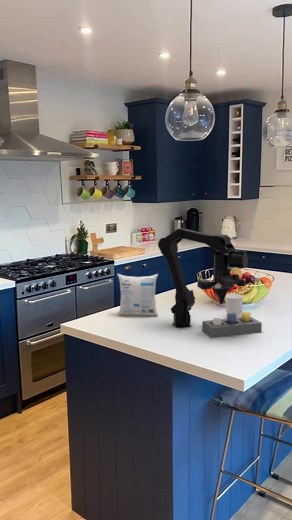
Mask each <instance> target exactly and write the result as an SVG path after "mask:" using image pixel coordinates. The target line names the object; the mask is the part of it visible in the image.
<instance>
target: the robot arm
mask: <svg viewBox="0 0 292 520" xmlns="http://www.w3.org/2000/svg"><path fill="white" fill-rule="evenodd" d="M183 239H185V240H189V241H193V242H196V243H200V244H205V245H206V246H207V247H209V248H212V250H211V251H210V252H209V253H208V255H211V256H214V257H213V259H214V260H213V261H214V262H213V267H212V270H213V275H214V276H213V277H212V281H210V280H209V279H199V280H198V281H197V283H196V284H197V288H198V289H200V290H204V291H205V290H210V289H212V290H213V291H214V293H215V295H216V298H217V301H218V302H219V304H220V305H223V304H224V303H225V302H224V301H225V300H226V295H228V292H229V291H230V290H232V289H233V288H234V287H235V285H236V286H237V287H241V288H242V287H246V280H245V279H244V278H242V277H240V275H239V274H238V273H237V274H231V269H230V268H229V267H231V268H239V269H246V268H248V264H249V258H248V254H247V251H246V250H237V249H236V247H235V246H234V245H233V244H232V240H231V238H230V236H229V235H227V234H223V233H222V234H218V233H216V234H215V233H214V234H210V233H205V232H201V231H195V230H192V229H187V228H185V227H180V228H179V227H178V228H177V229H176V230H174V231H173V232H171V233H170V234H169V235H166V236H165V237H161V238H160V239H159V240H158V242H157V246H158V249H159V251H160V253H161V254H162V256H163V257H164V258H165V259H166V262H167V266H168V269H169V271H170V275H171V278H172V283H173V285H174V289H175V295H174V299H175V303H174V305H173V306H172V307H170V311H171V314H173V322H172V323H171V324H172V325H173V326H174V327H175V328H177V329H180V328H187V327H188V328H190V327H191V326H192V325H191V322H192V321H191V320H192V319H191V314H190V311H191V310H192V307H194V306H195V304H196V297H195V294H194V290H193V289H189V288H188V287H187V284H186V281H185V280H186V279H185V277H184V274H183V270H182V268H181V264H180V260H179V258H178V250H179V246H178V244H179V243H180V242H181V241H182V240H183Z"/></svg>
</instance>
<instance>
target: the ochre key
mask: <svg viewBox="0 0 292 520" xmlns="http://www.w3.org/2000/svg"><path fill="white" fill-rule="evenodd" d="M251 314H252V313H251V312H250V311H242V316H241V317H242V322H243V323H245V322H250V317H252V316H251Z"/></svg>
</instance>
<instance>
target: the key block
mask: <svg viewBox="0 0 292 520" xmlns="http://www.w3.org/2000/svg"><path fill="white" fill-rule="evenodd" d="M221 319H222V325H217V326H214V325H213V319H210V320H209V319H208V320H201V321H202V326H201V329H202V331H203V333H206V335H208V336H209V337H210V338H212V339H215V338H220V337H222V338H223V337H230V336H231V337H232V336H240V335H241V336H242V335H246V334H247V335H249V334H257V333H258V334H259V333H262V331H263V330H262V328H263V327H262V326H263V324H262V322H261V321H259V320H257V319H255V318H253V316H250V322H245V323H243V322H242V316H241V317H238V318H236V324H228V323H227V318H221Z"/></svg>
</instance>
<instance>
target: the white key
mask: <svg viewBox="0 0 292 520" xmlns="http://www.w3.org/2000/svg"><path fill="white" fill-rule="evenodd" d="M222 319H223V318H221V317H213V318H212V320H213V325H214V326H217V325H222Z"/></svg>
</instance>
